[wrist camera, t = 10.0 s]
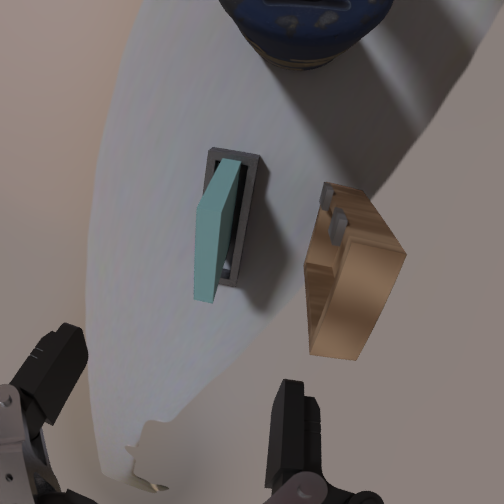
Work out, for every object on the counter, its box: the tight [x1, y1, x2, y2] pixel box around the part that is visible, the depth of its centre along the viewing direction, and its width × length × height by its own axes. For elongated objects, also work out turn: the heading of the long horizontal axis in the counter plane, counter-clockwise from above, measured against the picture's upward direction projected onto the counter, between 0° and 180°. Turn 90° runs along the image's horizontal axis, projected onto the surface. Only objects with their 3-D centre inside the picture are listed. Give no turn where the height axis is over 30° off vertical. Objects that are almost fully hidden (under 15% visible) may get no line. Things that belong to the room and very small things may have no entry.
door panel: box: [194, 158, 241, 303], centre depth 29 cm, size 10×2×9 cm, turn 171°
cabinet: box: [304, 182, 407, 361], centre depth 28 cm, size 10×5×14 cm, turn 170°
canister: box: [219, 0, 394, 71], centre depth 17 cm, size 10×10×18 cm
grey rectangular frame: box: [203, 147, 260, 287], centre depth 34 cm, size 15×5×2 cm, turn 170°
